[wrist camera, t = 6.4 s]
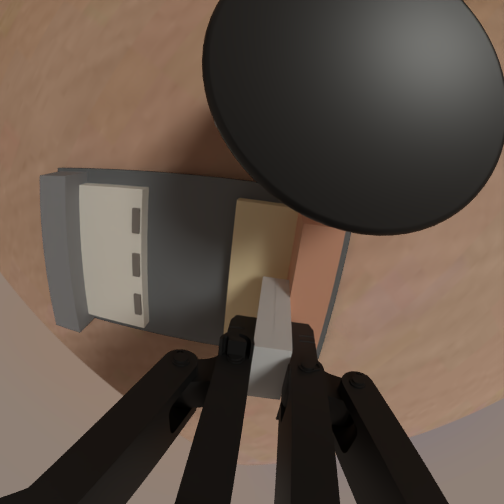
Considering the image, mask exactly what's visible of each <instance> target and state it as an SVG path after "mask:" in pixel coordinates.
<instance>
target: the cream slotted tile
mask: <svg viewBox="0 0 504 504" xmlns="http://www.w3.org/2000/svg"><path fill="white" fill-rule="evenodd" d="M87 176H88V172H82V171H60V172H55V173H50V174H45V175H40V208H41V225H42V237H43V248H44V256H45V264H46V271H47V278H48V284H49V290H50V296H51V301H52V306H53V311H54V316H55V321H56V325H59V326H62V327H65V328H68V329H71V330H74V331H77V332H81V331H82V330H83V329H84V328H85V327H86V326H87V325H88V324H89V323H90V322H91V321H92V320H93V319H94V318H95V317H96V316H98V317H102V318H106V319H109V320H113V321H117V322H121V323H125V324H129V325H133V326H137V327H142V328H145V326H146V325H147V324H148V322H149V307H148V275H147V229H148V198H149V187H139V186H126V185H113V184H97V183H87Z"/></svg>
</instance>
